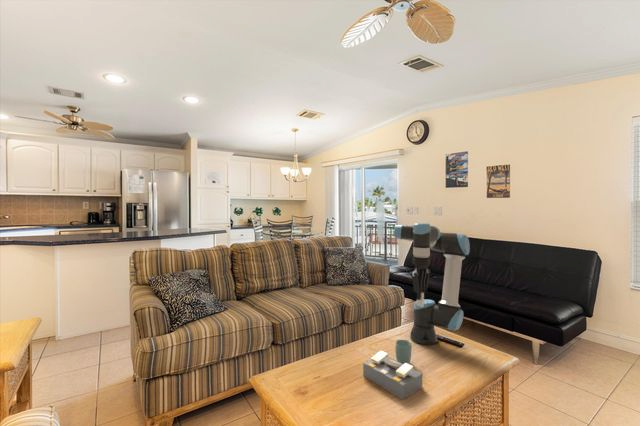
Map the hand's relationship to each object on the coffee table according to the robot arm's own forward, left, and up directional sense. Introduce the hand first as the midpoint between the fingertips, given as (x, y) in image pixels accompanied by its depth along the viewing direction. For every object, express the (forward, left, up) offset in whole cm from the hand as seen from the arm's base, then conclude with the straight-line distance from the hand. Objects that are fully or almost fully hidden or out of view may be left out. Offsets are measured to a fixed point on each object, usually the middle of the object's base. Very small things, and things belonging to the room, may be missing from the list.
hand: (420, 306), depth 144 cm
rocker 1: (+15, -11, -25) cm, 31 cm away
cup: (-3, -11, -33) cm, 35 cm away
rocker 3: (+15, +3, -25) cm, 30 cm away
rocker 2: (+15, -4, -25) cm, 30 cm away
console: (+15, -4, -32) cm, 36 cm away
